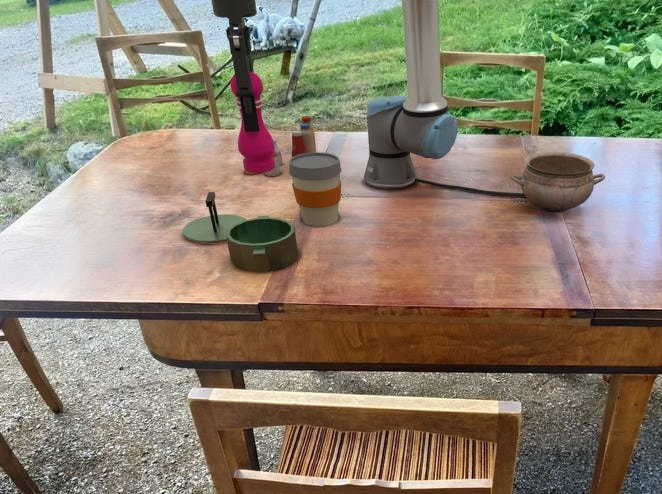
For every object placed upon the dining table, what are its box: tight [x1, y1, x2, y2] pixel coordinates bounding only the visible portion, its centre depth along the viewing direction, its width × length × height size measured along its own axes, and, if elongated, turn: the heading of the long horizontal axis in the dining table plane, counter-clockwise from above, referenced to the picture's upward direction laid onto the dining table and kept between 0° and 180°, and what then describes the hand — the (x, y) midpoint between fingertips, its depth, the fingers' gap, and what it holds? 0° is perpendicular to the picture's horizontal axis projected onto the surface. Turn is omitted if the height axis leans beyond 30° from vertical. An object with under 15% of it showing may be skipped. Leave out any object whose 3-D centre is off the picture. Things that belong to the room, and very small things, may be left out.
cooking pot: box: [509, 151, 606, 214], centre depth 158 cm, size 25×19×12 cm
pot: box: [226, 215, 299, 273], centre depth 135 cm, size 15×20×6 cm
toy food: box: [242, 115, 317, 177], centre depth 184 cm, size 27×13×12 cm, turn 135°
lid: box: [182, 191, 248, 244], centre depth 145 cm, size 16×16×9 cm
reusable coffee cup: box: [288, 151, 342, 227], centre depth 150 cm, size 13×13×15 cm
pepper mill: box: [229, 71, 275, 174], centre depth 119 cm, size 7×7×20 cm
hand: (253, 126), depth 120 cm, fingers closed on pepper mill, 5 cm apart
